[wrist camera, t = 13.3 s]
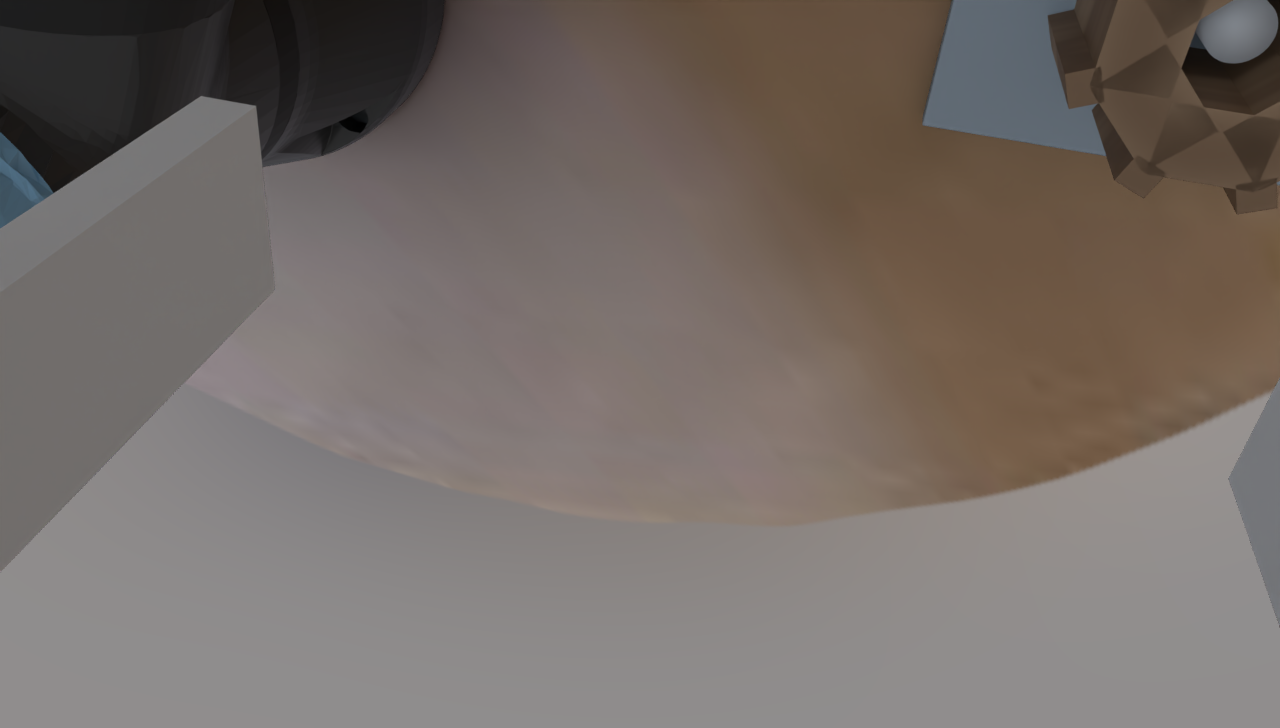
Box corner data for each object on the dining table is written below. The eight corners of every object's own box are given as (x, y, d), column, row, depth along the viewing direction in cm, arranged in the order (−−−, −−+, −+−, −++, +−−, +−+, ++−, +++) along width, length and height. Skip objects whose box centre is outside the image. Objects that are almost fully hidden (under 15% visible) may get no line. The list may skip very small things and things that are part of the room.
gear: (1019, 110, 40) (1031, 179, 35) (1106, -185, 35) (1136, -152, 30) (1300, 156, 39) (1354, 234, 34) (1437, -142, 33) (1524, -100, 29)
